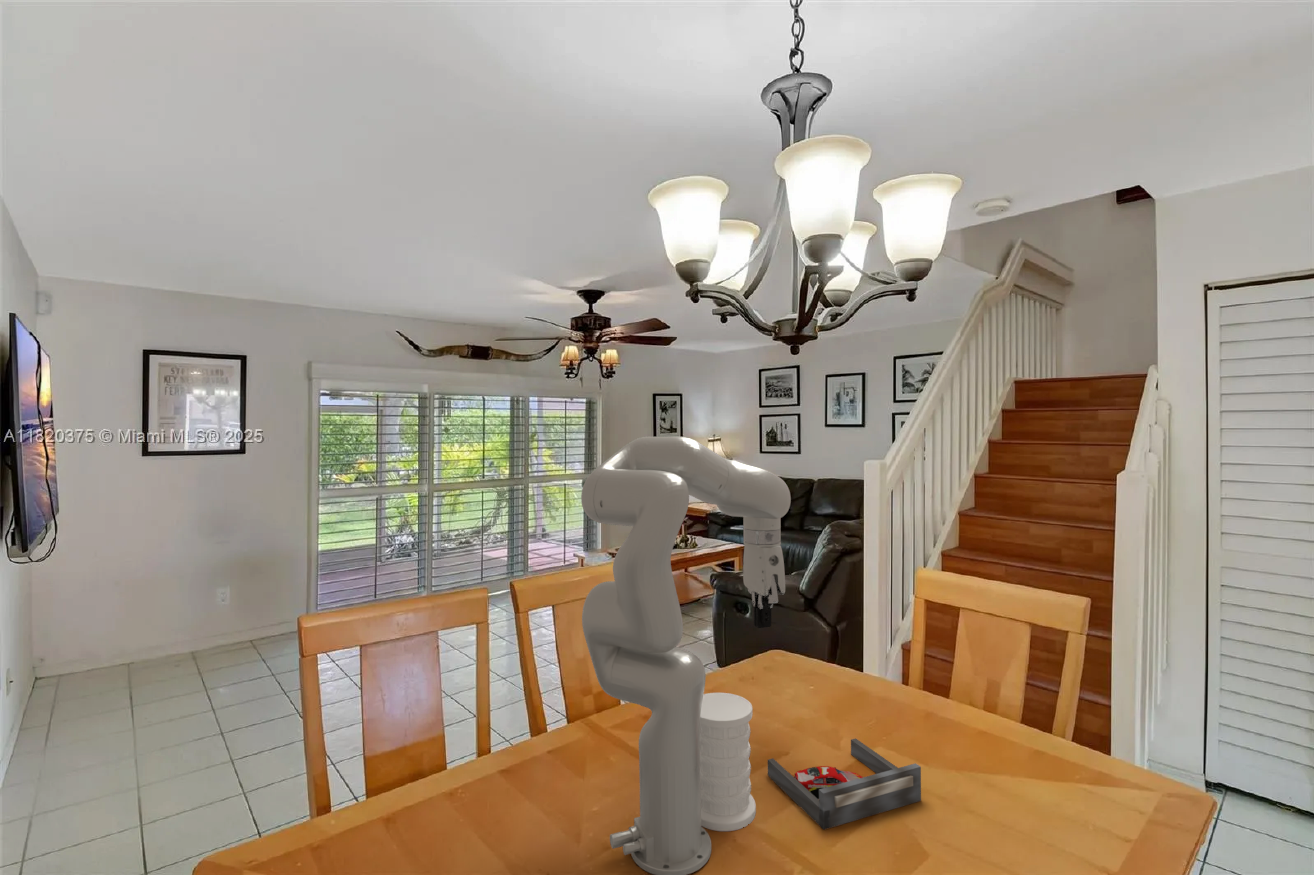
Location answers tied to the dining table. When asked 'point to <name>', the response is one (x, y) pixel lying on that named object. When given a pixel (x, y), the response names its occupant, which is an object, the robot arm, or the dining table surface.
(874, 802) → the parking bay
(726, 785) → the decorative container
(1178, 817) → the dining table surface
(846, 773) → the race car
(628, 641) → the robot arm
